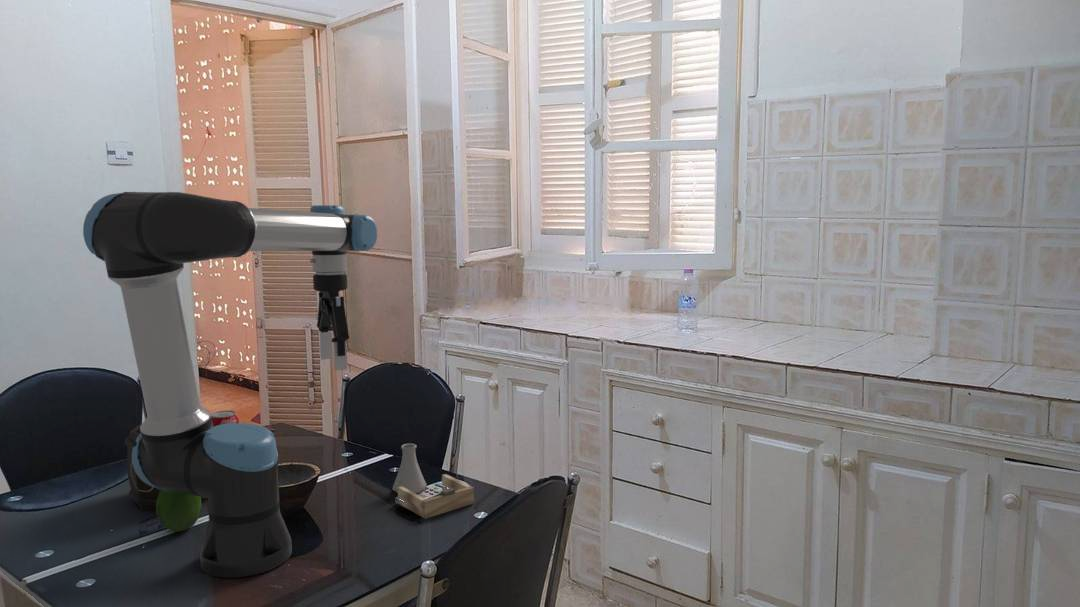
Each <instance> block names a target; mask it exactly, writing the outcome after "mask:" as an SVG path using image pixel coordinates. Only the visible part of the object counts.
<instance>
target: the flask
mask: <svg viewBox="0 0 1080 607" xmlns="http://www.w3.org/2000/svg"><path fill="white" fill-rule="evenodd" d="M417 448H418V447H417V444H415V443H404V444H402V445H401V446H400V449H401V450H402V452H401V453H402V457H401V463H400V466H399V469H398V472H397V475H396V477H395V481H394V483H393V485H392V491H394V492H395V493H397V494H398V487H401V486H403V487H404V488H406V489H408V490H410V491H412V492H414V493H416V494H419V493H423V492H424V491H425V490H426V489H427V488H428V485H427V482H426V480H425V479H424V476H423V473H422V471H421V468H420V465H419V463H418V460H417V455H416V449H417Z"/></svg>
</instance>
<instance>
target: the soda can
mask: <svg viewBox="0 0 1080 607" xmlns="http://www.w3.org/2000/svg"><path fill="white" fill-rule="evenodd" d="M236 413H237V412H236V411H235V410H218V411H215V412H212V413H211V417H212V422H213V425H214V427H215V426H218V425H221V424H227V423H238V424H240V420H239V417H238V416H237V415H236Z"/></svg>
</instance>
